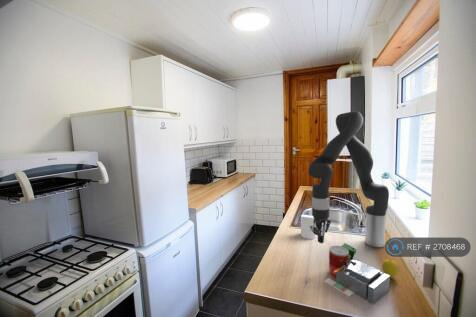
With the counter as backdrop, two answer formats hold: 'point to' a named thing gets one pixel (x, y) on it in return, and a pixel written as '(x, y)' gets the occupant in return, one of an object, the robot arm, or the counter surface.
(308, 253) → the counter surface
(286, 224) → the counter surface
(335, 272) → the plunger
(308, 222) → the white container
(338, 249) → the canned food
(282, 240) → the counter surface
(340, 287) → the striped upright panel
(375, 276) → the box
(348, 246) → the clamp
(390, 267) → the lemon
